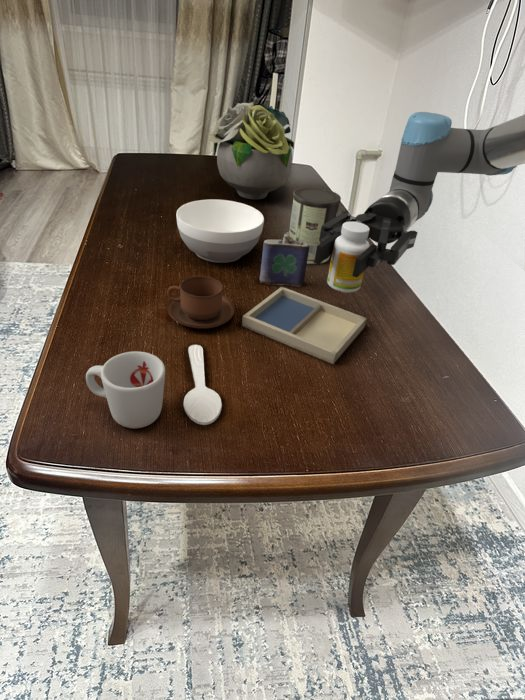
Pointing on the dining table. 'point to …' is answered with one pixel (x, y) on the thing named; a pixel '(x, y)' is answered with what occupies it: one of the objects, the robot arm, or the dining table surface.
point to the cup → (131, 387)
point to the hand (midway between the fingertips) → (337, 261)
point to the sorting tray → (305, 324)
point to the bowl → (219, 229)
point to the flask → (284, 261)
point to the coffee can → (312, 216)
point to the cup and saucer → (200, 303)
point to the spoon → (201, 392)
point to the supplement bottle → (347, 257)
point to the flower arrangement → (253, 149)
